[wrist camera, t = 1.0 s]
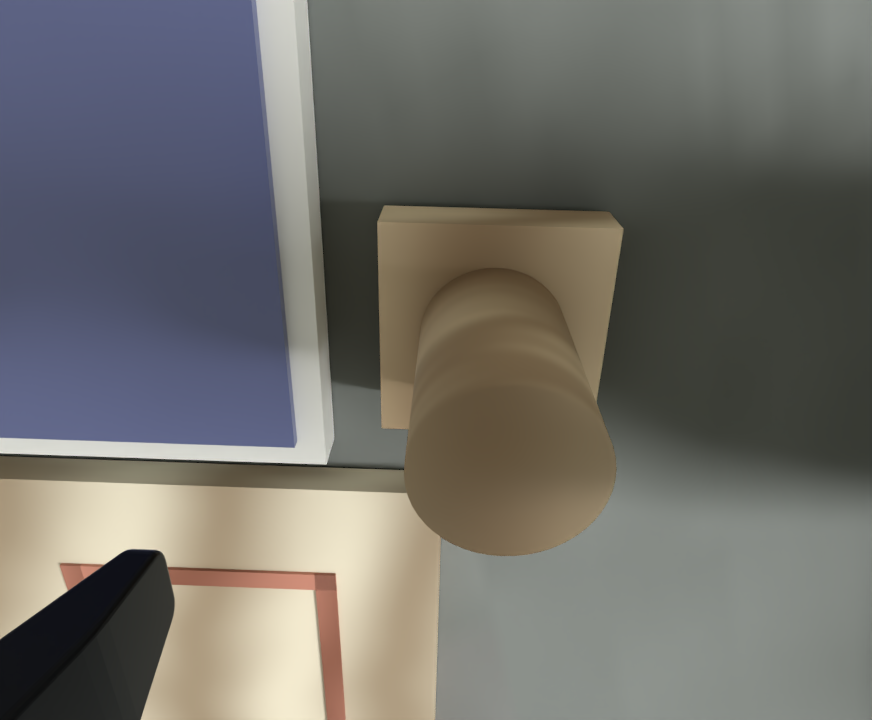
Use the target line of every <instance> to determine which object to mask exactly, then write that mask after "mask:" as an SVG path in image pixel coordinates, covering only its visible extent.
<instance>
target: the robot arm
mask: <svg viewBox="0 0 872 720" xmlns="http://www.w3.org/2000/svg"><path fill="white" fill-rule="evenodd" d="M174 610H175V597H174V592H173V588H172V584H171V579H170V575H169V571H168V566H167V562H166V559H165V556H164V555H163V553H162V552H161V551H158V550H147V549H129V550H126V551H124V552H122V553H120V554H119V555H117V556H116V557H115V558H113V559H112V560H110V561H109V562H107V563H106V564H105V565H103V566H102V567H100V568H99V569H98V570H96V571H95V572H93V573H92V574H91V575H89V576H88V577H86V578H85V579H84V580H82V581H81V582H79V583H78V584H77V585H75V586H74V587H72V588H71V589H70V590H68V591H67V592H65V593H64V594H63V595H61V596H60V597H58V598H57V599H56V600H54V601H53V602H51V603H50V604H49V605H47V606H46V607H44V608H43V609H42V610H40V611H39V612H37V613H36V614H35V615H33V616H32V617H30V618H29V619H28V620H26V621H25V622H23V623H22V624H21V625H19V626H18V627H16V628H15V629H13V630H12V631H11V632H9V633H8V634H6V635H5V636H4V637H2V638H1V639H0V720H141V717H142V714H143V711H144V708H145V705H146V702H147V698H148V695H149V692H150V689H151V686H152V683H153V680H154V676H155V673H156V670H157V667H158V664H159V661H160V657H161V654H162V651H163V648H164V645H165V642H166V639H167V635H168V632H169V629H170V626H171V623H172V620H173V616H174Z"/></svg>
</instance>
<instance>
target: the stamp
mask: <svg viewBox="0 0 872 720" xmlns="http://www.w3.org/2000/svg"><path fill="white" fill-rule="evenodd" d="M623 230H624V229H623V228H622V226H621V225H620V224H619V223H618V222H617V220H616V219H615V218H614V217H613V216H612V215H611V213H610V212H605V211H568V210H532V209H496V208H460V207H424V206H387V205H384V207H383V209H382V212H381V214H380V217H379V219H378V221H377V234H378V281H379V328H380V375H381V422H382V428H387V429H409V430H408V439H407V447H406V455H405V465H404V481H405V487H406V491H407V495H408V498H409V500H410V502H411V505H412V507H413V508H414V510H415V512H416V513H417V515H418V516H419V517H420V518H421V520H422V521H423V522H424V523H425V524H426V525H427V526H428V527H429V528H430V529H431V530H432V531H433V532H435V533H436V534H437V535H439V536H440V537H442V538H443V539H445V540H447V541H448V542H450V543H452V544H454V545H456V546H459V547H461V548H463V549H466V550H470V551H473V552H476V553H482V554H487V555H496V556H518V555H527V554H532V553H537V552H541V551H544V550H548V549H551V548H554V547H556V546H558V545H560V544H563V543H565V542H567V541H568V540H570V539H572V538H574V537H575V536H577V535H578V534H579V533H581V532H582V531H583V530H585V529H586V528H587V527H588V526H589V525H590V524H591V523H592V522H593V521H594V520H595V519H596V518H597V517H598V516H599V514H600V513H601V512H602V510H603V509H604V507H605V506H606V504H607V502H608V500H609V498H610V496H611V493H612V491H613V487H614V483H615V478H616V457H615V453H614V448H613V445H612V442H611V440H610V437H609V434H608V432H607V429H606V426H605V424H604V421H603V419H602V416H601V413H600V411H599V408H598V405H597V403H596V401H597V395H598V389H599V382H600V376H601V370H602V363H603V357H604V351H605V344H606V338H607V331H608V325H609V319H610V312H611V306H612V300H613V293H614V287H615V281H616V274H617V268H618V262H619V255H620V249H621V242H622V236H623Z"/></svg>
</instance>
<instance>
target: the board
mask: <svg viewBox="0 0 872 720" xmlns="http://www.w3.org/2000/svg"><path fill="white" fill-rule="evenodd" d="M440 546H441V537H440V536H439V535H437V534H436V533H435V532H433V531H432V530H431V529H430V528H429V527H428V526H427V525H426V524H425V523H424V522H423V521H422V520H421V518H420V517H419V516H418V515H417V513H416V512H415V510H414V508H413V507H412V505H411V502H410V500H409V498H408V495H407V491H406V487H405V481H404V470H384V469H355V468H327V467H298V466H269V465H240V464H211V463H182V462H154V461H125V460H96V459H67V458H38V457H10V456H0V639H1V638H2V637H4V636H5V635H6V634H8V633H9V632H11V631H12V630H13V629H15V628H16V627H18V626H19V625H21V624H22V623H23V622H25V621H26V620H28V619H29V618H30V617H32V616H33V615H35V614H36V613H37V612H39V611H40V610H42V609H43V608H44V607H46V606H47V605H49V604H50V603H51V602H53V601H54V600H56V599H57V598H58V597H60V596H61V595H63V594H64V593H65V592H67V591H68V590H70V589H71V588H72V587H74V586H75V585H77V584H78V583H79V582H81V581H82V580H84V579H85V578H86V577H88V576H89V575H91V574H92V573H93V572H95V571H96V570H98V569H99V568H100V567H102V566H103V565H105V564H106V563H107V562H109V561H110V560H112V559H113V558H115V557H116V556H117V555H119V554H120V553H122V552H124V551H126V550H129V549H147V550H158V551H161V552H162V553H163V555H164V556H165V559H166V562H167V566H168V571H169V575H170V579H171V584H172V588H173V592H174V597H175V610H174V616H173V620H172V623H171V626H170V629H169V632H168V635H167V639H166V642H165V645H164V648H163V651H162V654H161V657H160V661H159V664H158V667H157V670H156V673H155V676H154V680H153V683H152V686H151V689H150V692H149V695H148V698H147V702H146V705H145V708H144V711H143V714H142V717H141V720H435V703H436V672H437V640H438V609H439V578H440Z"/></svg>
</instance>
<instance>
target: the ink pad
mask: <svg viewBox="0 0 872 720" xmlns="http://www.w3.org/2000/svg"><path fill="white" fill-rule="evenodd" d="M333 441H334V423H333V407H332V391H331V375H330V358H329V342H328V326H327V310H326V294H325V278H324V261H323V245H322V229H321V213H320V197H319V181H318V164H317V148H316V132H315V116H314V100H313V84H312V67H311V51H310V35H309V19H308V3H307V0H0V453H8V454H37V455H66V456H95V457H123V458H152V459H181V460H210V461H239V462H268V463H297V464H326V465H327V461H328V458H329V455H330V451H331V448H332V445H333Z"/></svg>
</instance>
